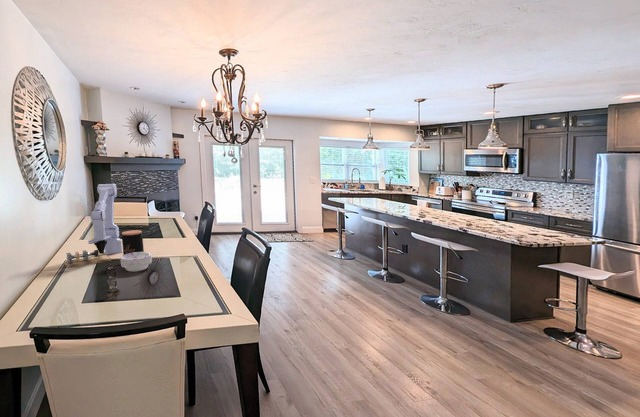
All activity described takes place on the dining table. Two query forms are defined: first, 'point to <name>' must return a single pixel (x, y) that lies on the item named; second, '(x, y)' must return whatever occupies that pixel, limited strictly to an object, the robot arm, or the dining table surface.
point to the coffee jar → (132, 241)
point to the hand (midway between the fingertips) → (101, 253)
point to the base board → (91, 261)
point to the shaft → (88, 254)
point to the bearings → (77, 257)
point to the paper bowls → (136, 261)
